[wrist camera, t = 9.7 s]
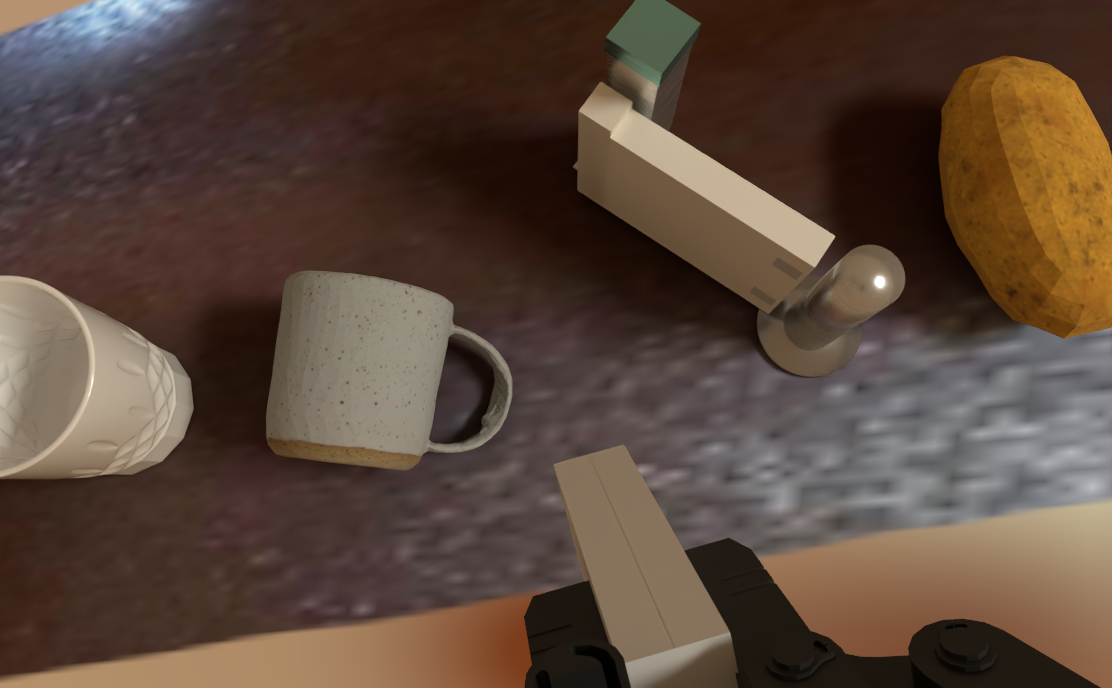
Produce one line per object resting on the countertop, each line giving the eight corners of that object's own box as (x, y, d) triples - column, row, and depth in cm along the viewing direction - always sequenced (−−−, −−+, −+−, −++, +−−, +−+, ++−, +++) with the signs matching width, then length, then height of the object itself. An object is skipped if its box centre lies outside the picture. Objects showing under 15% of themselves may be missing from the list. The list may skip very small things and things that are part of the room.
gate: (785, 287, 41) (841, 230, 33) (767, 315, 41) (818, 264, 33) (595, 165, 43) (601, 80, 34) (576, 191, 43) (578, 112, 34)
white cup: (215, 470, 41) (102, 456, 31) (55, 501, 41) (-109, 498, 31) (198, 316, 42) (85, 257, 32) (44, 346, 42) (-116, 296, 32)
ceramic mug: (288, 461, 41) (228, 450, 33) (315, 300, 42) (263, 255, 35) (503, 483, 41) (491, 477, 33) (521, 321, 42) (514, 280, 35)
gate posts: (561, 162, 44) (557, 32, 32) (631, 97, 44) (652, -53, 32) (811, 399, 41) (909, 353, 29) (882, 326, 41) (1005, 253, 30)
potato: (953, 362, 41) (1027, 333, 34) (894, 108, 44) (952, 36, 37) (1107, 341, 41) (1210, 308, 35) (1038, 89, 44) (1121, 14, 37)
